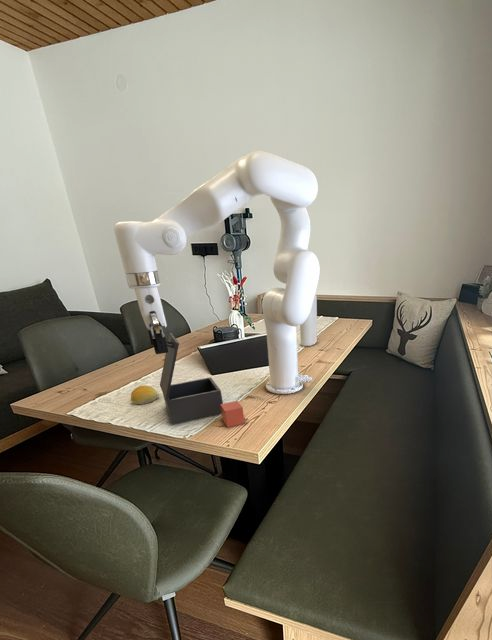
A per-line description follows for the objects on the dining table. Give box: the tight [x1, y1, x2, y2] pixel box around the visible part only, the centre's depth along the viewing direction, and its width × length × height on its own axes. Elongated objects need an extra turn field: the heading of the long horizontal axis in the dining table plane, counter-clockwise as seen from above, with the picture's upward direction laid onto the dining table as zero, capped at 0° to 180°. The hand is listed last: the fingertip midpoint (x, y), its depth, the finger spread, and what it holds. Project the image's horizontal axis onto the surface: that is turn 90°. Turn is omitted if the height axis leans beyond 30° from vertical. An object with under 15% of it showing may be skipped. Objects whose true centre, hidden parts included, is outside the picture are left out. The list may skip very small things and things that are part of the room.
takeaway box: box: [162, 376, 224, 426], centre depth 107 cm, size 15×12×7 cm
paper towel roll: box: [299, 294, 318, 347], centre depth 159 cm, size 7×6×21 cm
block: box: [220, 400, 245, 428], centre depth 100 cm, size 5×5×5 cm
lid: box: [159, 332, 180, 401], centre depth 98 cm, size 16×12×5 cm
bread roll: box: [130, 385, 159, 405], centre depth 116 cm, size 8×9×4 cm
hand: (159, 348), depth 96 cm, fingers open, 9 cm apart
